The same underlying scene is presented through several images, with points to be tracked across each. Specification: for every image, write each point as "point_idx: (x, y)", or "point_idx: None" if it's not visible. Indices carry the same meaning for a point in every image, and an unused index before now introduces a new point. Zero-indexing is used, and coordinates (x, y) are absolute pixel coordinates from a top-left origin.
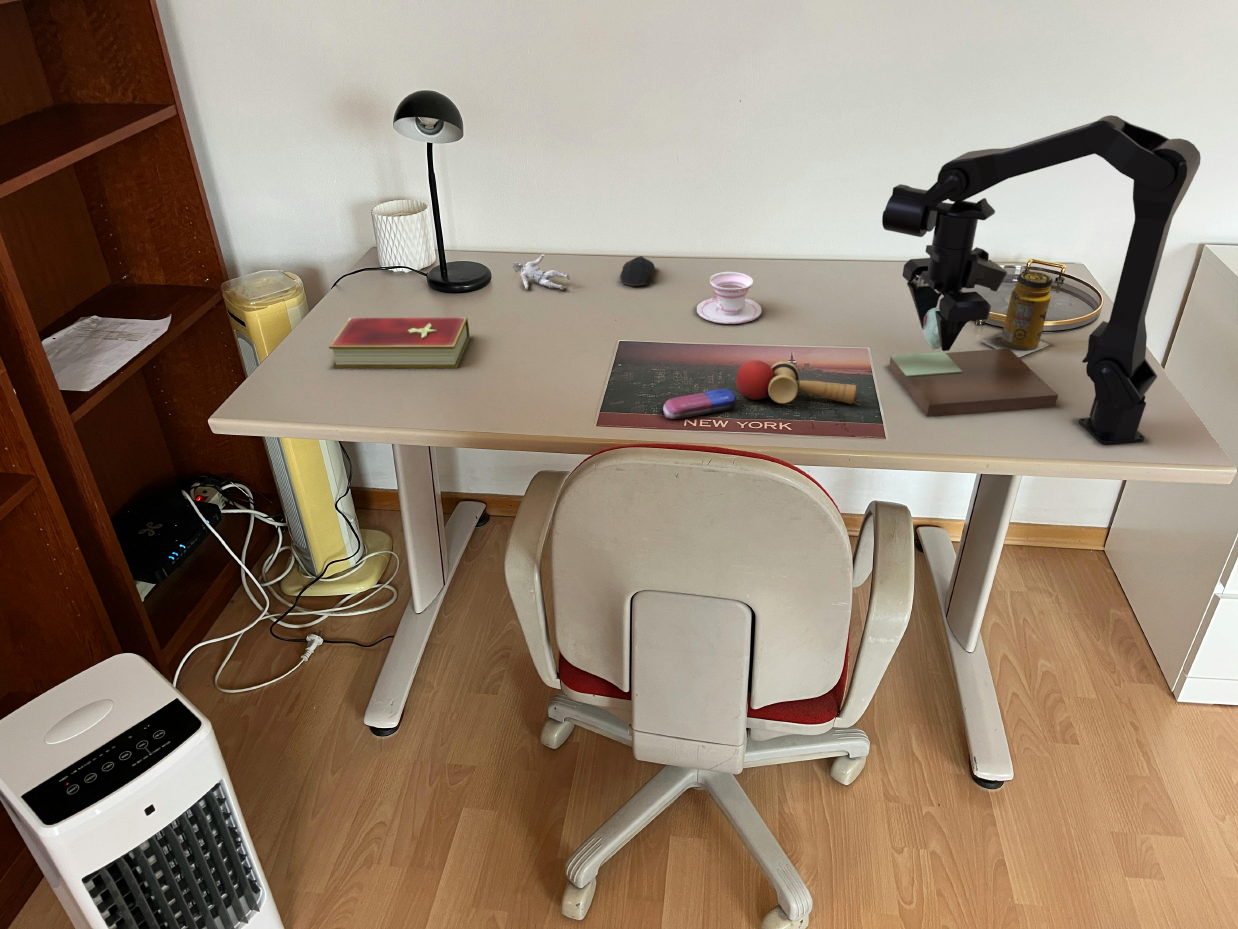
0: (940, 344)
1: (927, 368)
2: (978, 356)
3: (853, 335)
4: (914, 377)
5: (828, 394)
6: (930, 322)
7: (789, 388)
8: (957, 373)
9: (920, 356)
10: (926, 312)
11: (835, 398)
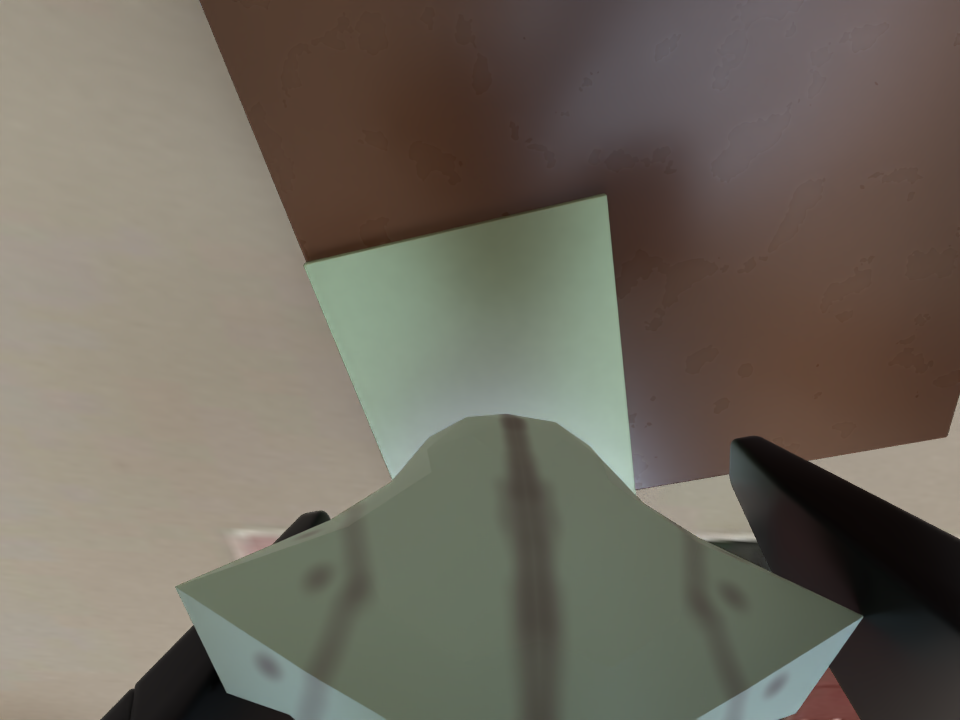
0: (760, 539)
1: (560, 397)
2: None
3: (126, 569)
4: (649, 461)
5: None
6: None
7: None
8: (619, 228)
9: (405, 411)
10: (275, 710)
11: None
